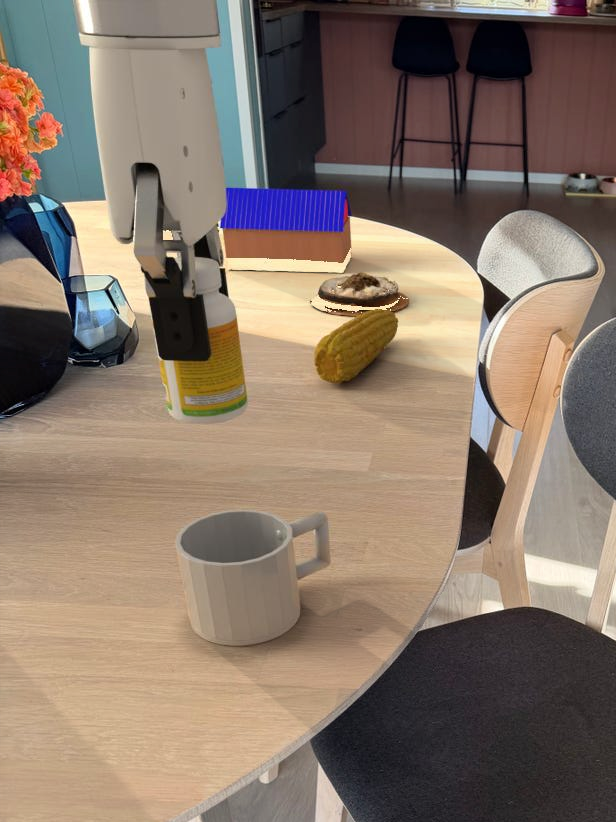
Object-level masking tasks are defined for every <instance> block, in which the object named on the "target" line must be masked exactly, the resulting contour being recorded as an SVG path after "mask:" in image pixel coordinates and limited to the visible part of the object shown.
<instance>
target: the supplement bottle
mask: <svg viewBox="0 0 616 822" xmlns="http://www.w3.org/2000/svg"><path fill="white" fill-rule="evenodd" d="M174 259H175V260H176V262H177V263H178V265H179V268H180V270H181V258H180V257H178V256H177V257H174ZM219 268H220V267H219V264H218V262H217V261H215V260H212V259H209V258H201V257H195V273H196V289H197V293H196V294H203V298H204V305H205V312H206V319H207V326H208V333H209V340H210V347H211V356H210V358H209V359H208V360H207V361H167V360H163V359H161V358H160V357H159V354H158V348H157V343H156V337H155V332H154V326H153V320H152V315H151V314H150V319H151V323H152V324H151V326H152V331H153V337H154V342H155V347H156V354H157V359H158V364H159V370H160V376H161V382H162V386H163V392H164V398H165V403H166V408H167V412H168V413H169V415H170V416H171V417H172V418H173V419H175V420H177V421H179V422H182V423H187V424H192V425H193V424H195V425H212V424H220V423H225V422H228V421H232V420H234V419H236V418H238V417H240V416H241V415H243V414H244V413H245V412H246V411H247V408H248V403H249V402H248V393H247V386H246V377H245V371H244V363H243V355H242V349H241V340H240V333H239V324H238V316H237V311H236V306H235V304H234V302H233V300H232V299H231V298H230V297H229V298H228V297H227V296H225V295H224V294H221V293H219V288H220V287H221V275H220V269H219Z"/></svg>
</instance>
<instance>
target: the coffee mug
mask: <svg viewBox="0 0 616 822" xmlns="http://www.w3.org/2000/svg"><path fill="white" fill-rule="evenodd" d="M312 531H313V532H312ZM310 532H312V533H313V541H314V542H313V543H314V551H315V552H314V555H315V556H313V557H310V558H308V559H306V560H303V561H301V562H299V563H297V560H296V551H295V550H296V549H295V541H294V539H295V538H298V537H301V536H303V535H305V534H308V533H310ZM330 542H331V541H330V530H329V519H328V515H327V513H325V512H323V511H316V512H314V513H311V514H308V515H306V516H304V517H301V518H298V519H296V520H293V521H291V522H289V521H288V520H286V519H284V518H282V517H281V516H280V515H278V514H276V513H272V512H268V511H265V510H258V509H250V508H249V509H248V508H245V509H244V508H243V509H227V510H222V511H217V512H212V513H209V514H206V515H203V516H201V517H198V518H196V519H193V520H192V521H191V522H189V523H187V524H185V526H183V527H182V528H181V529H180V530H179V532H178V533H177V534H176V537H175V541H174V546H175V548H174V549H175V554H176V557H177V562H178V563H177V564H178V568H179V574H180V578H181V579H180V580H181V585H182V589H183V594H184V600H185V604H186V610H187V615H188V619H189V622H190V626H191V628H192V630H193V631H194V633H195V634H197V636H199V637H200V638H202V639H203V640H205V641H208V642H210V643H212V644H217V645H223V646H231V647H239V646H240V647H242V646H243V647H244V646H252V645H258V644H262V643H265V642H268V641H272V640H274V639H276V638H279V637H280V636H282V635H284V634H286V633H287V632H289V631H290V630H291V629H292V628H293V627H294V626H295V625H296V623H297V622H298V621H299V618H300V616H301V611H302V610H301V597H300V590H299V589H300V588H299V587H300V586H299V580H302V579H304V578H306V577H309V576H311V575H314V574H316V573H318V572H320V571H322V570H325V569H327V568H329V567H330V565H331V564H332V557H331V556H332V554H331V546H330Z"/></svg>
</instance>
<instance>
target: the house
mask: <svg viewBox="0 0 616 822" xmlns="http://www.w3.org/2000/svg"><path fill="white" fill-rule="evenodd" d="M352 216H353V214H352V210H351V208H350V202H349V198H348V194H347V190H328V189H327V190H323V189H294V188H293V189H291V188H289V189H288V188H258V187H257V188H255V187H226V211H225V214H224V216H223V217H222V219H221V220H220V224H219V229H222V236H223V245H224V250H225V258H267V259H268V258H269V259H293V260H294V259H296V260H311V261H324V262H326V261H327V262H338V263H343V262H344V260H345V258H346V256H347V254H348V252H349V250H350V248H351V249H352V233H351V232H352V231H351V217H352Z"/></svg>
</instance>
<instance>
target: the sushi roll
mask: <svg viewBox="0 0 616 822" xmlns="http://www.w3.org/2000/svg"><path fill="white" fill-rule="evenodd" d="M388 278H389V277H388V276H387V277H386V276H377V275H375V276H374V275H370V274H367V273H365V272H361V271H360V272H357V273H353V274H351V275H350V276H349V275H345V276H341V277H339V276H337V277H331V278H328V279H326V280H325V281H324V282H322V283H321V284H320V286H319V288H318V291H317V295H319V297H320V298H321V299H323V300H325V301H328V302H331V303H335V304H341V305H351V306H362V307H380V306H385V305H389V304H392V303H394V302H395V301H397V300H399V301H398V303H396V304H395V305H394V306H392V307H390V308H386V309H387V310H388V311H390V309H391V311H390V312H395V311H398V310H401V309H404V308H405V307H406V306H407V305H408V304H409V303H410V298H409V297H408V296H407V295H406V294H404V293H402V292H400V291H399V289H400V288H399V284H398V283H397V282H396V280H393V281H392V280H389V279H388ZM337 286H341V288H338V287H337ZM332 290H334V291H332ZM388 290H389V291H388ZM400 296H401V297H400ZM402 297H403V298H405V299H403V298H402ZM398 298H400V299H398ZM406 298H408V299H406ZM310 302H312V301H311V299H310V301H309V303H310ZM325 308H327V309H330V310H332V311H331V312H329V311H328V310H327V312H328V313H327V314H331V315H338V316H346V317H348V316H349V317H350V316H351V317H357V316H360V315H361V314H362V313H365V312H367V311H370V310H359V311H357V312H355V311H347V310H342V309H339V310H338V309H332V308H328V307H326V306H325ZM334 311H336V312H334ZM352 312H353V313H352ZM361 312H362V313H361Z"/></svg>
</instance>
